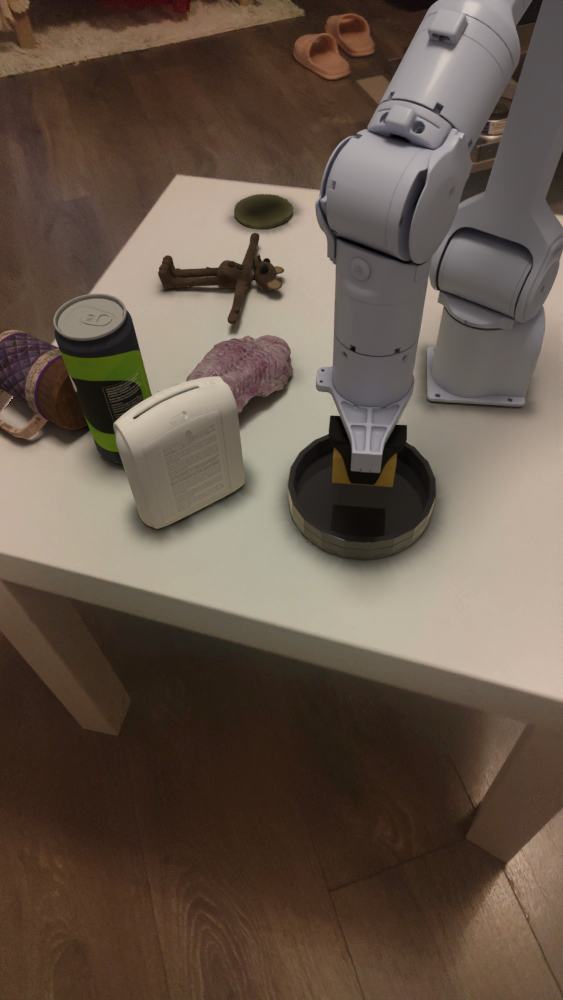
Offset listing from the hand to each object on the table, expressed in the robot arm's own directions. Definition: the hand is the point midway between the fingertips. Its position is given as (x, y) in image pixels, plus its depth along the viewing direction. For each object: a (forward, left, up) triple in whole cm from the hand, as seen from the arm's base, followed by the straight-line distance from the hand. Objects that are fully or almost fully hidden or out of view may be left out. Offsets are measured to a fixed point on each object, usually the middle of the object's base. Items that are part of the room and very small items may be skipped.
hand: (363, 462), depth 55 cm
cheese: (0, 0, -1) cm, 1 cm away
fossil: (+13, -13, -5) cm, 19 cm away
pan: (0, 0, -5) cm, 5 cm away
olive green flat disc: (+16, -48, -4) cm, 50 cm away
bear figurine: (+18, -31, -5) cm, 36 cm away
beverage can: (+22, -4, -5) cm, 23 cm away
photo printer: (+15, +1, -5) cm, 16 cm away
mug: (+27, -5, -2) cm, 28 cm away
